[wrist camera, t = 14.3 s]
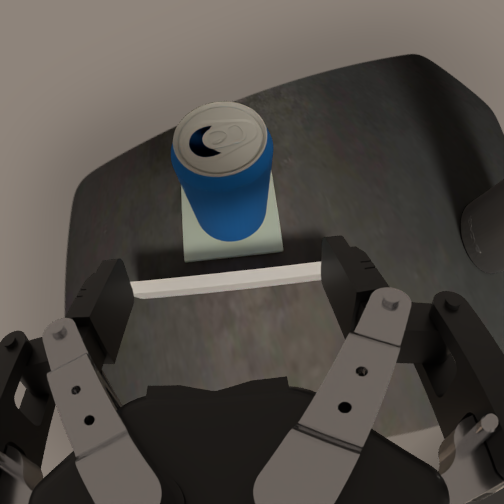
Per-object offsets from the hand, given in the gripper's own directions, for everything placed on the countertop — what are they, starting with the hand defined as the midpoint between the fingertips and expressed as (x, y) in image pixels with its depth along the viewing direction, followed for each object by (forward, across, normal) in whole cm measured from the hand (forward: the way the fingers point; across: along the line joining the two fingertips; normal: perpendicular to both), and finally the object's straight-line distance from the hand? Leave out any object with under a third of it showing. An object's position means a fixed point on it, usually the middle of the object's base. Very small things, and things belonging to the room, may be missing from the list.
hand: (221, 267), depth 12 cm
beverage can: (+17, 0, +5) cm, 17 cm away
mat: (+17, 0, +5) cm, 18 cm away
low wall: (+12, 0, +10) cm, 16 cm away
